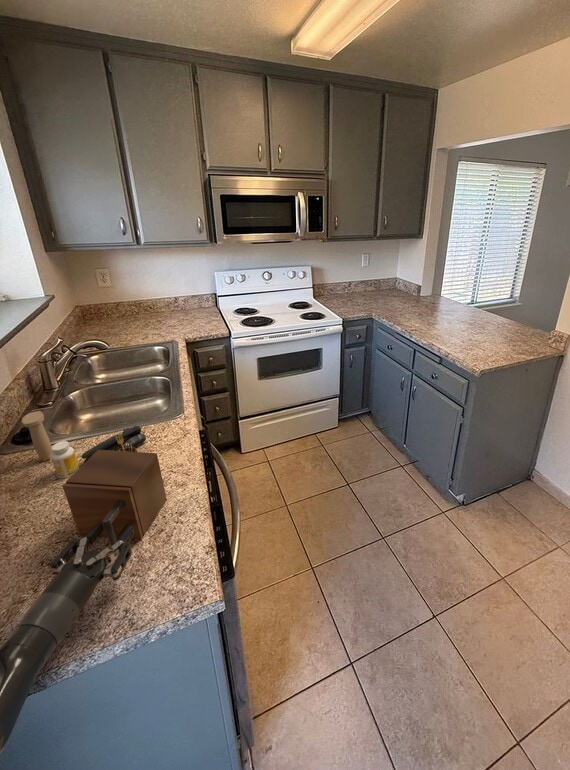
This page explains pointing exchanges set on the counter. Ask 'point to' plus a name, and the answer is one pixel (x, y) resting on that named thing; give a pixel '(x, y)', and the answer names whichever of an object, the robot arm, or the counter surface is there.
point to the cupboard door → (103, 510)
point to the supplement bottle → (64, 459)
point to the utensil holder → (129, 449)
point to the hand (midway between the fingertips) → (116, 527)
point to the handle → (38, 434)
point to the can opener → (128, 435)
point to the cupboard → (127, 479)
